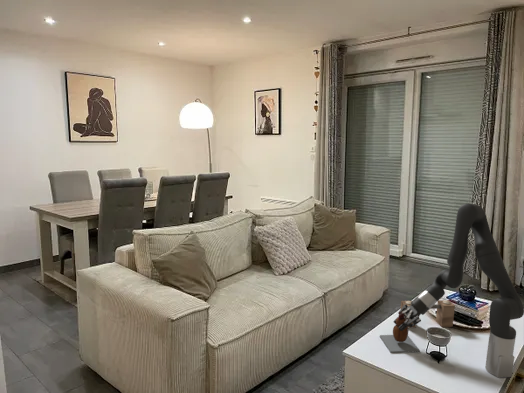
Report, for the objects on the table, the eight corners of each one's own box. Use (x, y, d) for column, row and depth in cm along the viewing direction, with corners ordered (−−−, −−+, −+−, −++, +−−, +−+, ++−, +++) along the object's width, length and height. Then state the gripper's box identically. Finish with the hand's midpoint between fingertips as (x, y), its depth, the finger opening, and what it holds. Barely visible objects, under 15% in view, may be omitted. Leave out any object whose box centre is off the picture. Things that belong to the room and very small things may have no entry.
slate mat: (420, 352, 179) (420, 350, 179) (390, 352, 178) (390, 351, 178) (407, 336, 193) (407, 334, 193) (379, 336, 192) (379, 335, 192)
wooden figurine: (397, 344, 182) (399, 314, 179) (390, 338, 187) (392, 308, 185) (409, 342, 183) (411, 312, 181) (402, 336, 189) (404, 307, 187)
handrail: (452, 326, 203) (455, 304, 201) (404, 327, 201) (406, 305, 199) (446, 321, 209) (448, 299, 207) (399, 322, 207) (401, 299, 205)
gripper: (412, 290, 189) (386, 314, 190) (426, 303, 175) (398, 329, 176) (421, 300, 190) (396, 324, 192) (436, 314, 176) (408, 339, 178)
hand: (397, 326), depth 184 cm, fingers closed on wooden figurine, 5 cm apart
